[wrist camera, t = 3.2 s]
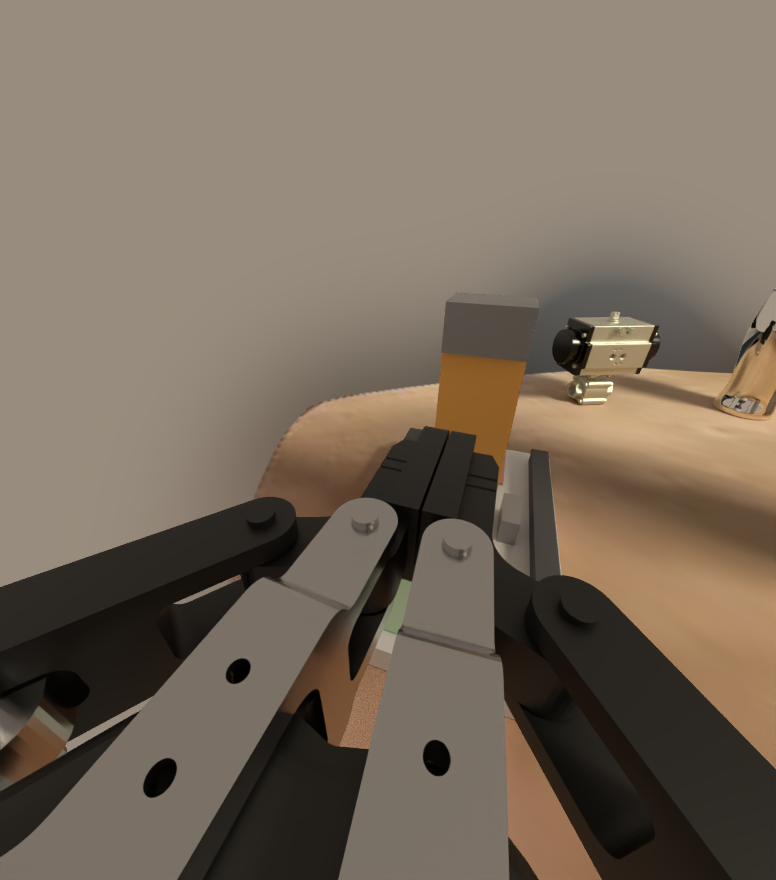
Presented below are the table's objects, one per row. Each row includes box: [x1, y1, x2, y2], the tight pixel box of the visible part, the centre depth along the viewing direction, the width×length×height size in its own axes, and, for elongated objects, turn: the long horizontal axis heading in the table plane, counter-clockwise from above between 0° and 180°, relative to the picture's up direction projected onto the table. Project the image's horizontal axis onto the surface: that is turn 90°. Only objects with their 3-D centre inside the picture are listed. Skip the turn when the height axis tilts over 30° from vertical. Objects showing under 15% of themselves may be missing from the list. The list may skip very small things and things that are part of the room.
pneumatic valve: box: [552, 312, 660, 405], centre depth 45 cm, size 6×12×12 cm, turn 95°
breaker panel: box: [368, 449, 561, 720], centre depth 26 cm, size 22×14×4 cm, turn 161°
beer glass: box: [713, 287, 776, 420], centre depth 43 cm, size 7×7×15 cm
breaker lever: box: [435, 293, 539, 493], centre depth 22 cm, size 3×5×15 cm, turn 71°
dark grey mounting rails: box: [404, 428, 561, 581], centre depth 26 cm, size 19×13×1 cm
